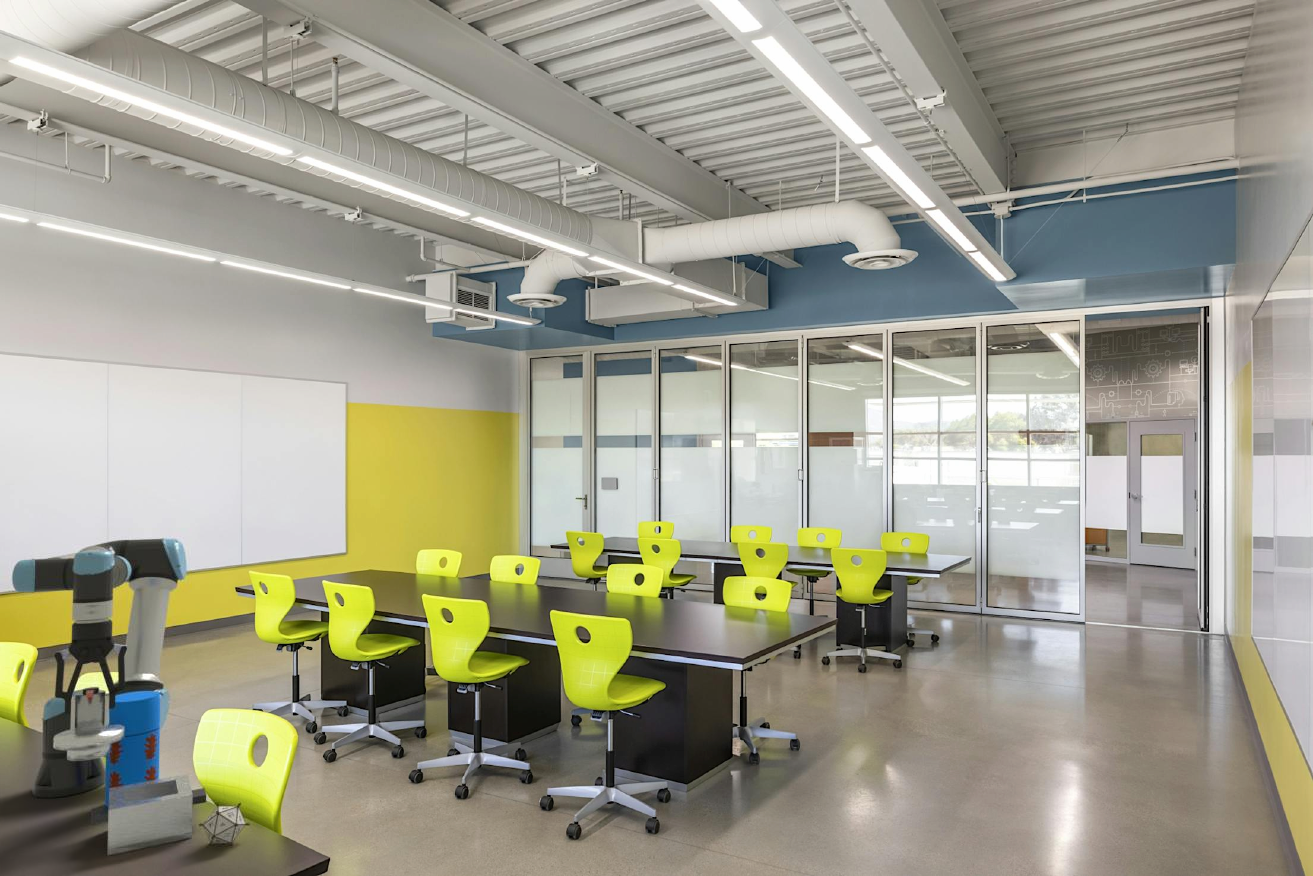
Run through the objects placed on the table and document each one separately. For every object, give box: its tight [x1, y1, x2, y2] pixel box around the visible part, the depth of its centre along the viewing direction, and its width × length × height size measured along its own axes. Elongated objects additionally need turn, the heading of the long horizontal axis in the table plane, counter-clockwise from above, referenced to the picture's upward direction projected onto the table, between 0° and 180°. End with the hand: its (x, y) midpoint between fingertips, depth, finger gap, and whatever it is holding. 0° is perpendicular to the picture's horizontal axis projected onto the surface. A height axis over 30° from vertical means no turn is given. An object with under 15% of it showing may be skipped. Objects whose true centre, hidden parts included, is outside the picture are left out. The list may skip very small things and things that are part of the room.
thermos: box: [104, 691, 161, 806], centre depth 198 cm, size 11×11×25 cm
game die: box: [198, 802, 251, 848], centre depth 174 cm, size 9×8×10 cm
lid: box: [53, 686, 124, 761], centre depth 185 cm, size 13×13×14 cm
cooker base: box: [90, 774, 207, 856], centre depth 180 cm, size 15×21×9 cm
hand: (89, 726), depth 185 cm, fingers closed on lid, 5 cm apart
